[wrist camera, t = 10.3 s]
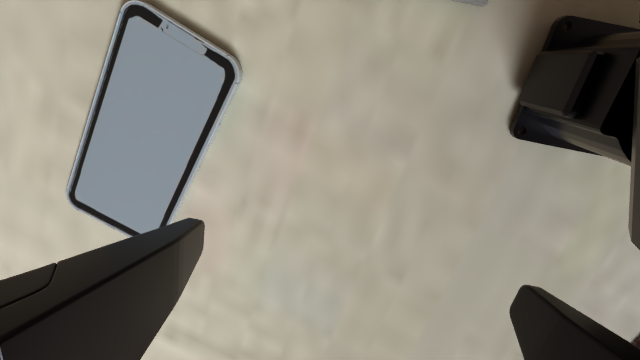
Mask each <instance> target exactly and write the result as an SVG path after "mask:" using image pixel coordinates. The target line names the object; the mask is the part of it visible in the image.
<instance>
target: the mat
mask: <svg viewBox="0 0 640 360" xmlns="http://www.w3.org/2000/svg"><path fill="white" fill-rule="evenodd" d="M453 1H458V2H463V3H468V4H473V5H478V6H485V5H486V4H487V1H488V0H453Z"/></svg>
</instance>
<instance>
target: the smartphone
mask: <svg viewBox="0 0 640 360" xmlns="http://www.w3.org/2000/svg"><path fill="white" fill-rule="evenodd" d="M241 80H242V68H241V65H240V63H239V62H238V60H237V59H236V58H235V57H234V56H232V55H231V54H229V53H227V52H226V51H224V50H223V49H221V48H219V47H218V46H216V45H215V44H213V43H211V42H210V41H208V40H207V39H205V38H203V37H202V36H200V35H199V34H197V33H195V32H194V31H192V30H191V29H189V28H187V27H186V26H184V25H183V24H181V23H179V22H178V21H176V20H175V19H173V18H171V17H170V16H168V15H167V14H165V13H163V12H162V11H160V10H158V9H157V8H155V7H154V6H152V5H150V4H148V3H146V2H142V1H138V0H131V1H128V2H126V3H125V4H124V5H123V6H122V8H121V10H120V13H119V17H118V20H117V23H116V27H115V30H114V33H113V36H112V40H111V43H110V46H109V50H108V53H107V56H106V60H105V63H104V66H103V70H102V73H101V76H100V80H99V83H98V86H97V90H96V93H95V96H94V100H93V103H92V106H91V110H90V113H89V116H88V120H87V123H86V126H85V130H84V133H83V136H82V139H81V143H80V146H79V149H78V153H77V156H76V159H75V163H74V166H73V169H72V173H71V176H70V179H69V183H68V186H67V189H66V198H67V200H68V202H69V203H70V205H71V206H72V207H74V208H75V209H77V210H79V211H80V212H82V213H84V214H86V215H88V216H90V217H92V218H94V219H96V220H98V221H100V222H102V223H104V224H105V225H107V226H109V227H111V228H113V229H115V230H117V231H119V232H121V233H123V234H125V235H127V236H128V237H133V236H136V235H139V234H142V233H145V232H148V231H151V230H154V229H157V228H160V227H163V226H166V225H169V224H172V223H173V221H174V219H175V216H176V214H177V212H178V210H179V208H180V206H181V204H182V202H183V200H184V198H185V195H186V194H187V192H188V190H189V188H190V186H191V183H192V181H193V179H194V177H195V175H196V173H197V171H198V169H199V167H200V165H201V163H202V161H203V159H204V157H205V155H206V153H207V151H208V148H209V146H210V144H211V143H212V141H213V139H214V137H215V135H216V132H217V130H218V128H219V126H220V124H221V122H222V120H223V118H224V115H225V113H226V111H227V109H228V107H229V105H230V103H231V101H232V99H233V97H234V95H235V93H236V91H237V88H238V86H239V84H240V82H241Z"/></svg>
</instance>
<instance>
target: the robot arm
mask: <svg viewBox="0 0 640 360" xmlns="http://www.w3.org/2000/svg"><path fill="white" fill-rule="evenodd" d="M564 22H565V23H566V24H567V28H566V30H565V31H564V32H563V31H562V29H561V27H562V24H563V23H564ZM639 23H640V21H639ZM519 102H520V106H519V108H518V111H517V113H516V115H515V118H514V120H513V123H512V125H511V128H510V134H511V135H512V136H513V137H515V138H517V139H521V140H526V141H531V142H535V143H540V144H545V145H550V146H555V147H560V148H565V149H570V150H575V151H580V152H585V153H590V154H595V155H600V156H605V157H608V158H611V159H613V160H616V161H618V162H621V163H624V164H626V165H629V166H631V183H630V205H629V232H630V237H631V241H632V242H633V243H634V245H635V246H636V247H637V248H638V249H639V250H640V30H639V29H635V28H630V27H625V26H620V25H615V24H610V23H605V22H600V21H595V20H590V19H585V18H580V17H575V16H563V17H560V18H558V19H557V20H556V21H555V22H554V23H553V25H552V27H551V30H550V32H549V35H548V37H547V40H546V42H545V45H544V47H543V49H542V52H541V53H540V54H538V55H537V57H536V59H535V62H534V64H533V66H532V69H531V71H530V74H529V76H528V79H527V81H526V84H525V86H524V89H523V91H522V94H521V96H520V98H519ZM522 126H523V131H522V132H521V133H519V134H518V129H519V128H520V127H522ZM204 228H205V225H204V222H203V221H202V220H198V219H193V218H187V219H184V220H181V221H178V222H175V223H172V224H169V225H166V226H163V227H160V228H157V229H154V230H151V231H148V232H145V233H142V234H139V235H136V236H133V237H130V238H127V239H124V240H121V241H118V242H115V243H112V244H109V245H106V246H103V247H101V248H98V249H95V250H92V251H89V252H86V253H83V254H80V255H77V256H74V257H71V258H68V259H65V260H62V261H59V262H58V263H57V264H56V263H52V264H50V265H47V266H44V267H41V268H38V269H35V270H32V271H28V272H25V273H22V274H19V275H16V276H13V277H10V278H7V279H3V280H0V360H140V359H141V358H142V356H143V354H144V353H145V351H146V350H147V348H148V347H149V345H150V344H151V342H152V341H153V339H154V337H155V336H156V334H157V333H158V331H159V330H160V328H161V327H162V325H163V324H164V322H165V320H166V319H167V317H168V316H169V314H170V313H171V311H172V310H173V308H174V306H175V305H176V303H177V301H178V300H179V298H180V296H181V294H182V292H183V290H184V288H185V286H186V284H187V282H188V280H189V278H190V276H191V274H192V272H193V270H194V268H195V266H196V264H197V262H198V260H199V258H200V256H201V253H202V250H203V244H204ZM510 318H511V321H512V324H513V327H514V330H515V333H516V336H517V339H518V342H519V345H520V348H521V351H522V354H523V357H524V360H640V349H639V348H638V347H636V346H635V345H633V344H631V343H630V342H628V341H626V340H625V339H623V338H622V337H620V336H618V335H617V334H615V333H613V332H612V331H610V330H608V329H607V328H605V327H604V326H602V325H600V324H599V323H597V322H595V321H594V320H592V319H591V318H589V317H587V316H586V315H584V314H582V313H581V312H579V311H578V310H576V309H574V308H573V307H571V306H569V305H568V304H566V303H565V302H563V301H561V300H560V299H558V298H556V297H555V296H553V295H552V294H550V293H548V292H547V291H545V290H543V289H542V288H540V287H536V286H531V285H523V286H522V287H520V289H519V291H518V293H517V295H516V297H515V299H514V301H513V303H512V305H511V307H510Z"/></svg>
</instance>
